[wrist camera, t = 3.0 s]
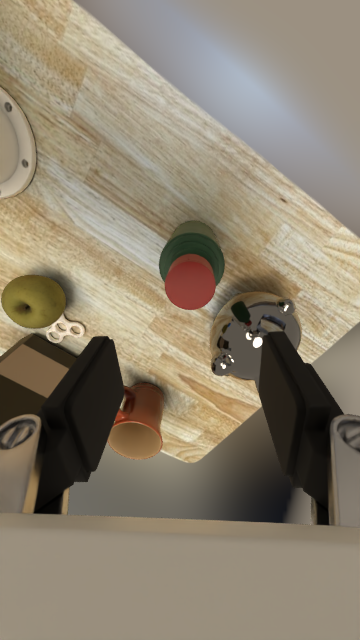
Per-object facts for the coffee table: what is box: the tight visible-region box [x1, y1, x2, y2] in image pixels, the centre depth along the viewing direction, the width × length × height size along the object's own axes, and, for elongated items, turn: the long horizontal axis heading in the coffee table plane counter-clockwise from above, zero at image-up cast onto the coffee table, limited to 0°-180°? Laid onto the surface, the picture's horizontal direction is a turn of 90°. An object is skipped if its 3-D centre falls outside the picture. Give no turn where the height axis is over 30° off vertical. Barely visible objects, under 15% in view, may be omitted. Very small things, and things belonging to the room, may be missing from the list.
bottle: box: [0, 334, 77, 426], centre depth 35 cm, size 8×16×25 cm, turn 55°
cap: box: [165, 254, 216, 310], centre depth 20 cm, size 4×4×3 cm
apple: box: [1, 275, 66, 329], centre depth 36 cm, size 8×8×7 cm
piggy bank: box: [210, 291, 302, 393], centre depth 35 cm, size 11×15×12 cm
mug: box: [108, 383, 164, 459], centre depth 43 cm, size 12×9×10 cm
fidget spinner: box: [46, 314, 85, 343], centre depth 42 cm, size 7×6×1 cm
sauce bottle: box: [159, 221, 225, 286], centre depth 27 cm, size 6×6×18 cm
